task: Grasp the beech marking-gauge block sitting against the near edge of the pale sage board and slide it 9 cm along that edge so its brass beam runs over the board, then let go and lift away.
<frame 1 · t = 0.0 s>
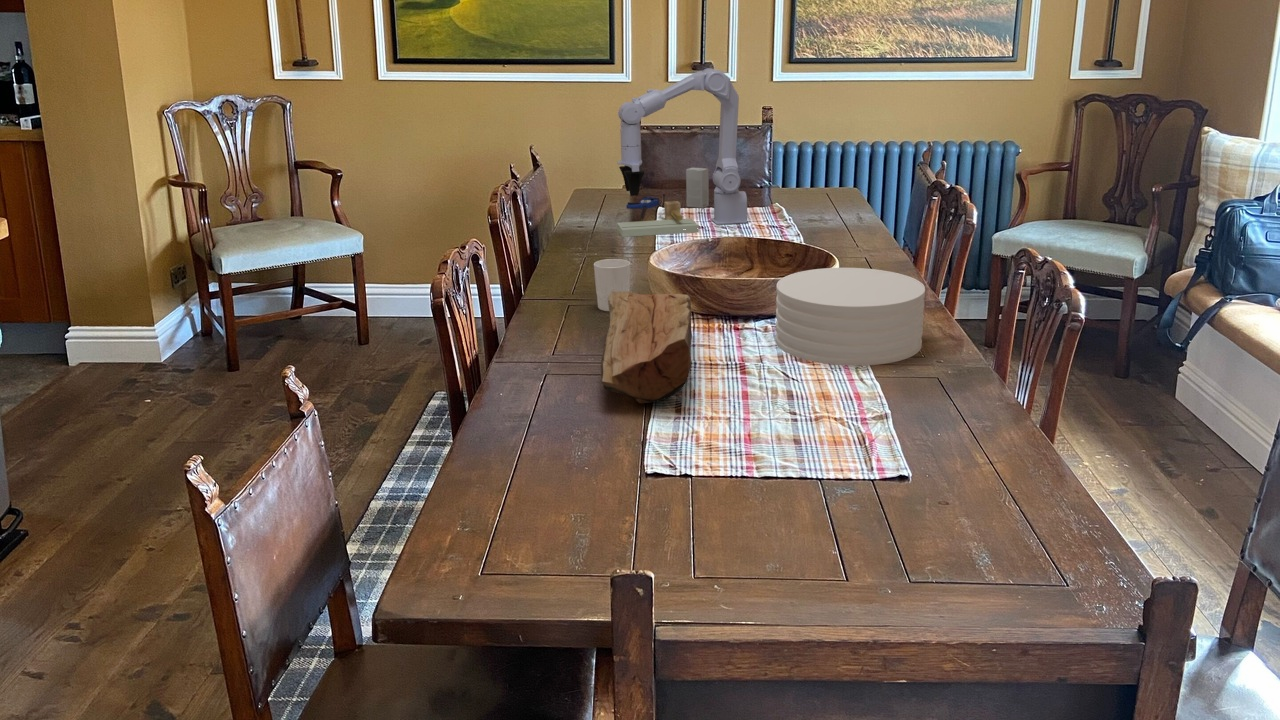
hand: (632, 193, 310), 10 cm above the table, tool pointing down, fingers open, 7 cm apart
bar clamp: (640, 214, 334), on the table
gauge: (672, 224, 316), on the table
plate stack: (847, 343, 210), on the table
skincare box: (697, 207, 341), on the table
white cup: (613, 308, 236), on the table
log: (646, 370, 198), on the table
board: (657, 230, 309), on the table
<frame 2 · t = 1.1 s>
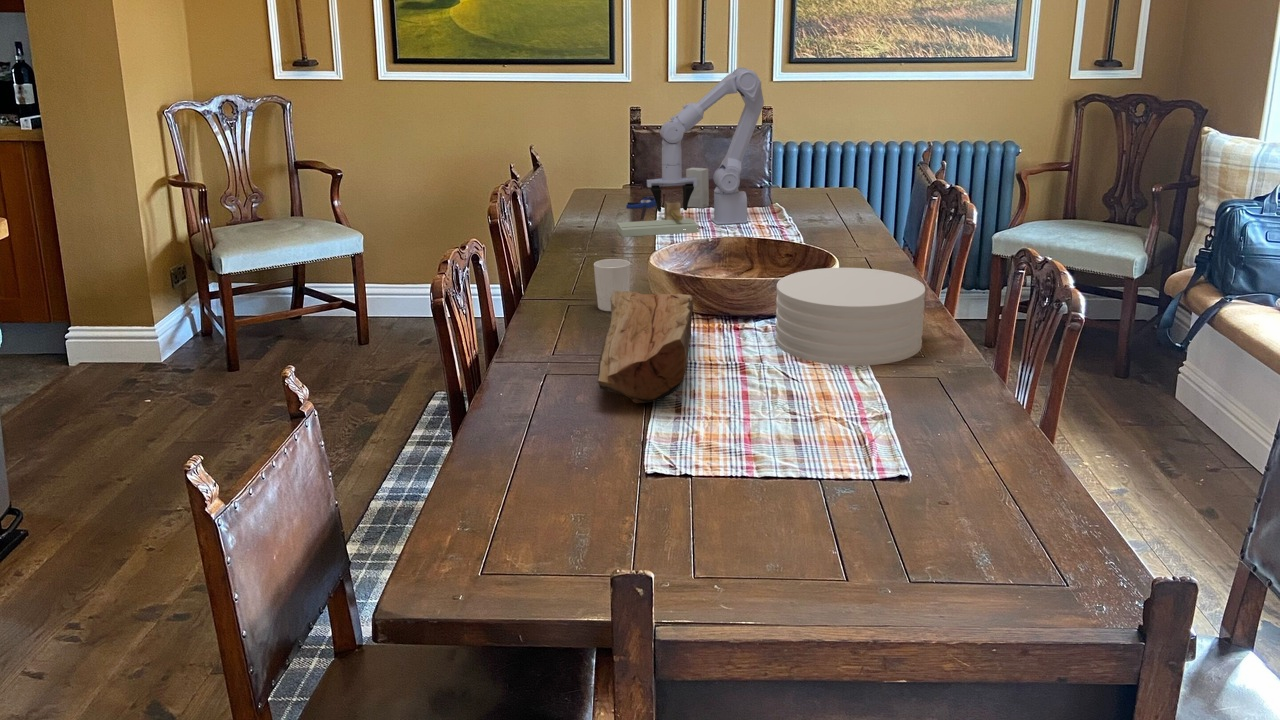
hand: (672, 210, 315), 4 cm above the table, tool pointing down, fingers open, 7 cm apart
nothing on the table moved.
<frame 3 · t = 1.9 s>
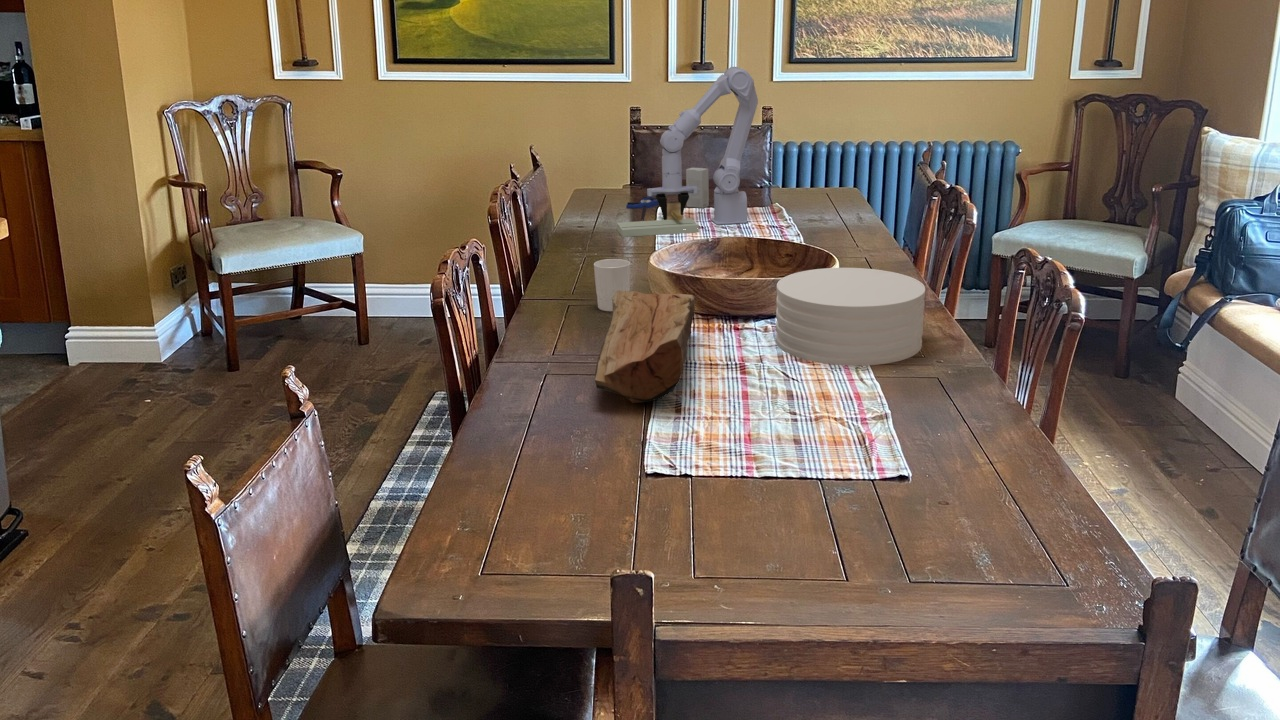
hand: (672, 219, 316), 2 cm above the table, tool pointing down, fingers closed on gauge, 4 cm apart
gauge: (672, 224, 316), on the table, touching gripper
everything else where it was.
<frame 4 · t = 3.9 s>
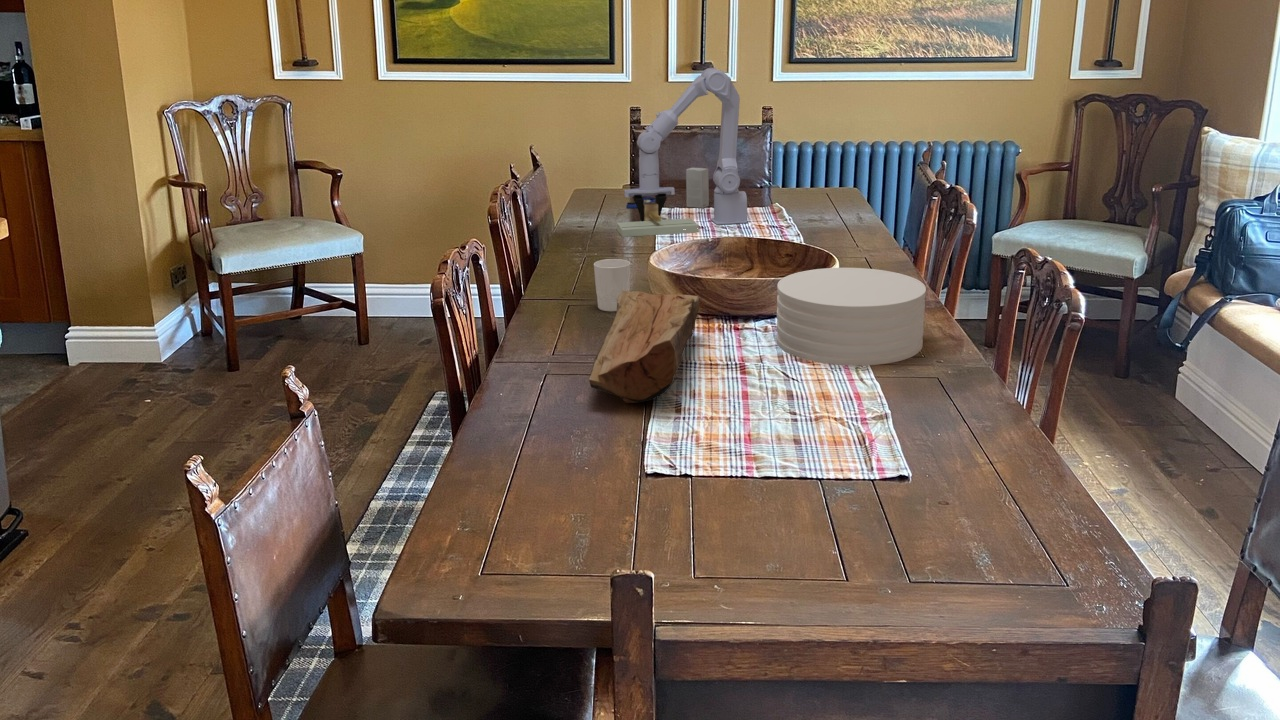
hand: (650, 220, 315), 2 cm above the table, tool pointing down, fingers closed on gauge, 4 cm apart
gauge: (650, 225, 315), on the table, touching gripper
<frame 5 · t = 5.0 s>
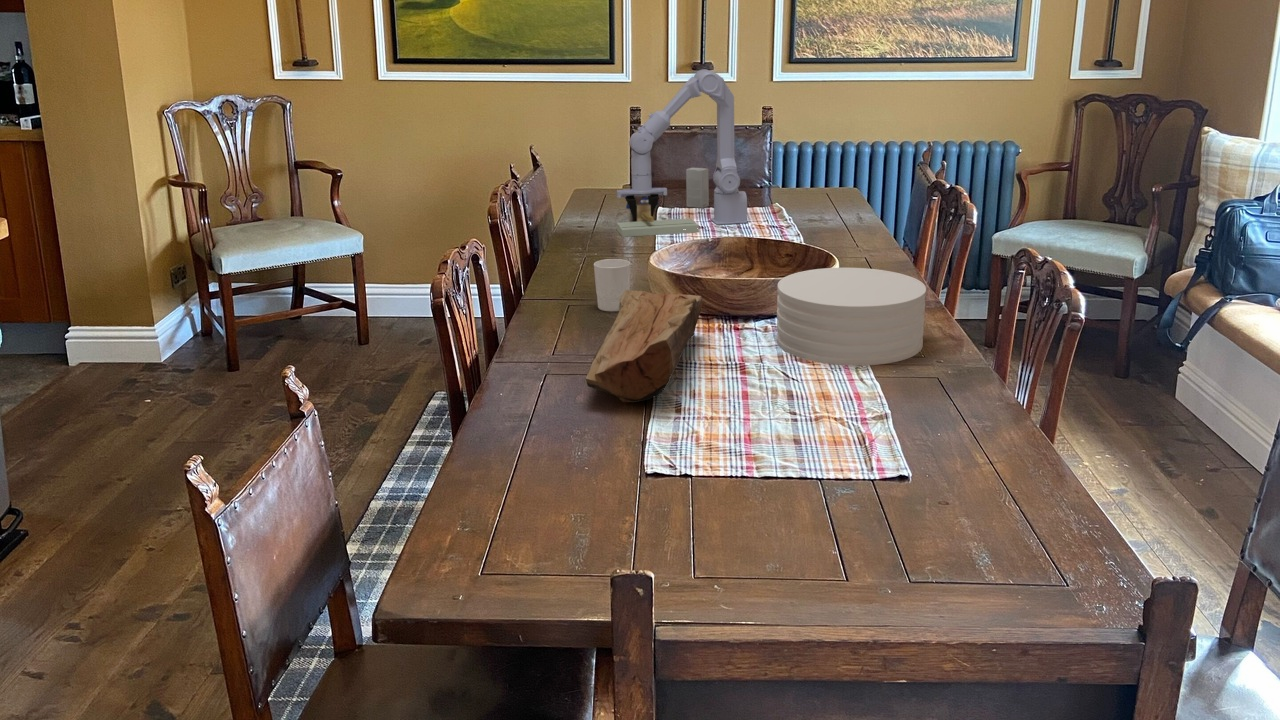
hand: (642, 220, 315), 2 cm above the table, tool pointing down, fingers closed on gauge, 4 cm apart
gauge: (642, 226, 315), on the table, touching gripper
when the fingers open (2 cm above the table, at t = 5.7 s): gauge stays where it is, on the table.
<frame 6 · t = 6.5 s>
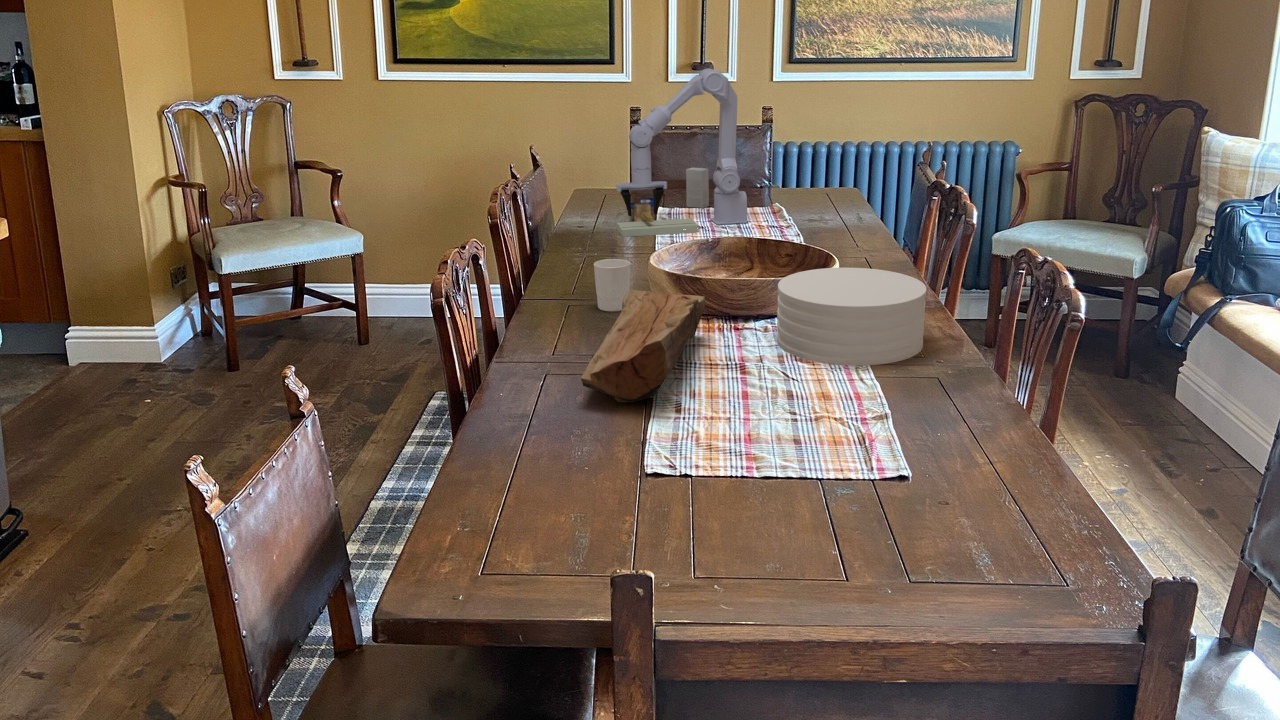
hand: (642, 214, 314), 3 cm above the table, tool pointing down, fingers open, 7 cm apart
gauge: (642, 226, 315), on the table
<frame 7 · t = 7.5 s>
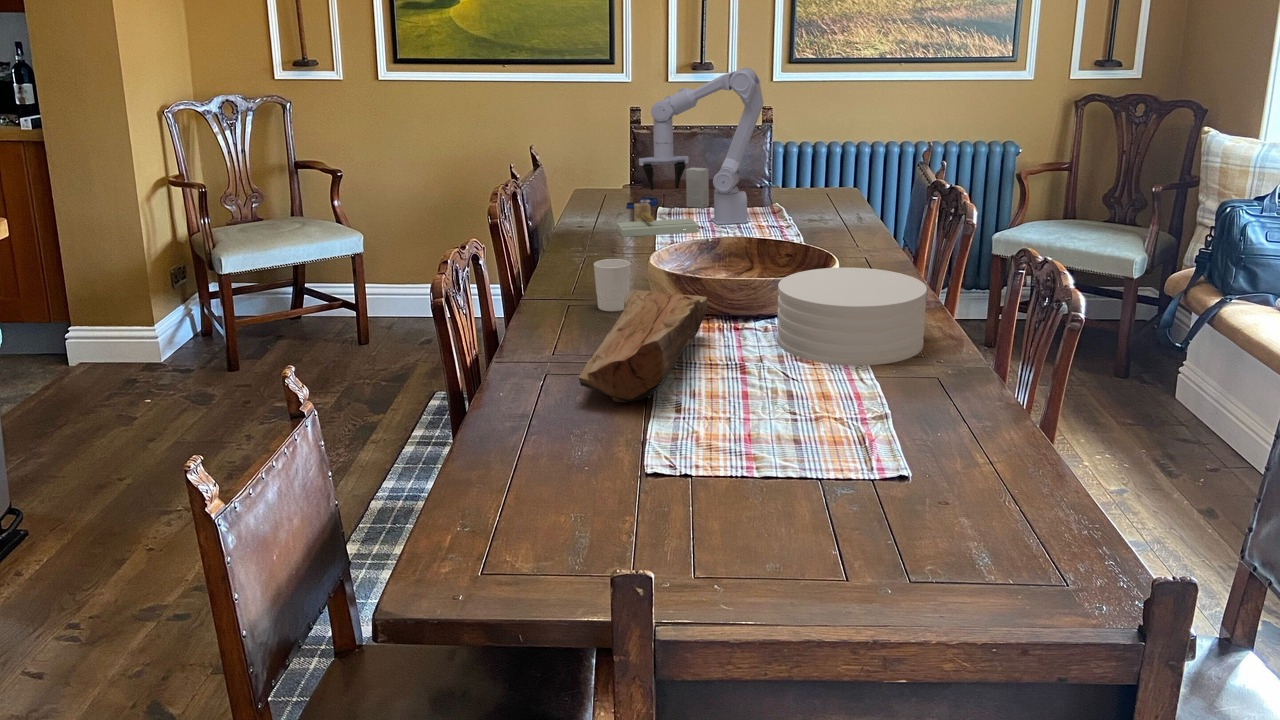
hand: (664, 188, 320), 9 cm above the table, tool pointing down, fingers open, 7 cm apart
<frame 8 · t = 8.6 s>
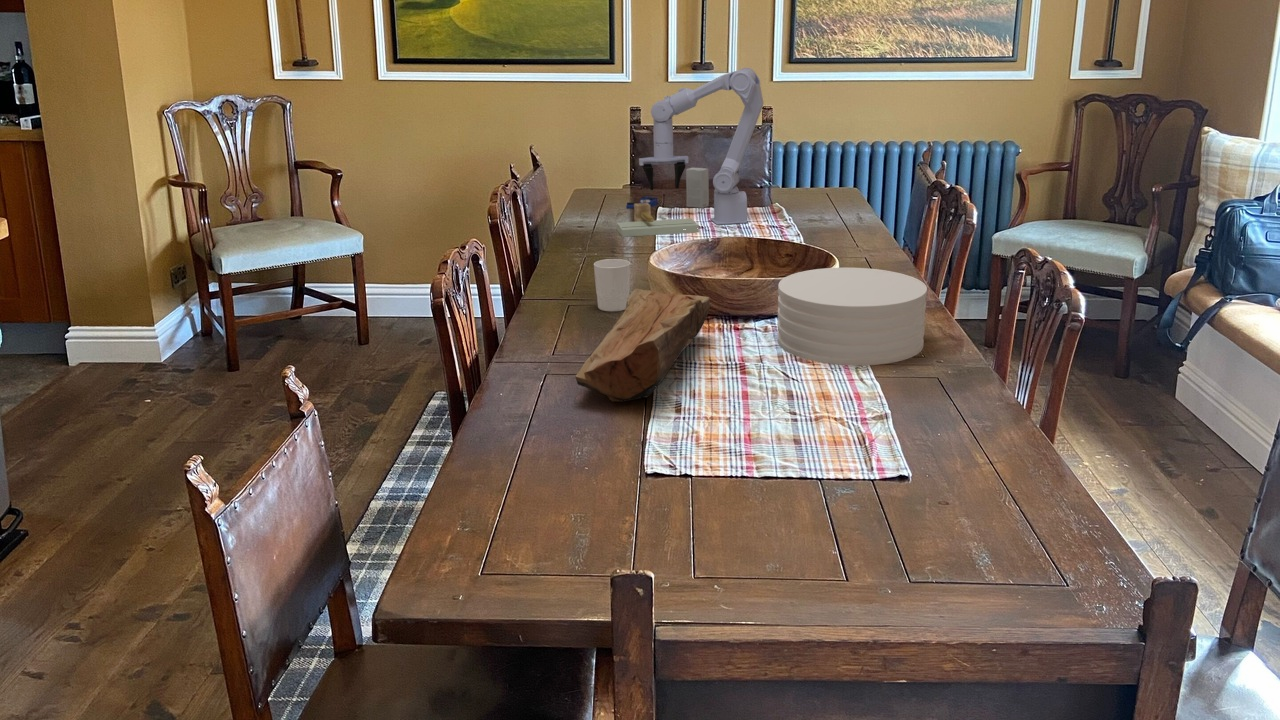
hand: (664, 188, 320), 9 cm above the table, tool pointing down, fingers open, 7 cm apart
at the end: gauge 0.3 cm from the target spot, on the table; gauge tilted 0°; the gripper is holding nothing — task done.
